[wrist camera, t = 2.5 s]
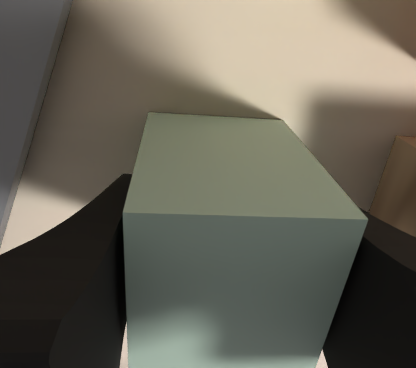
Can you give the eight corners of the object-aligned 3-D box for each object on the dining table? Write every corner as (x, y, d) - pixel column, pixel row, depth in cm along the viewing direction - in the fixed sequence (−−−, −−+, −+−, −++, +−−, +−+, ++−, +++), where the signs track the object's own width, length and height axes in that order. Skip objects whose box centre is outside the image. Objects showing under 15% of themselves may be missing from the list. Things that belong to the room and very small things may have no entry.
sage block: (262, 229, 14) (314, 371, 9) (148, 226, 13) (128, 375, 8) (282, 119, 12) (368, 219, 6) (148, 111, 11) (123, 212, 6)
